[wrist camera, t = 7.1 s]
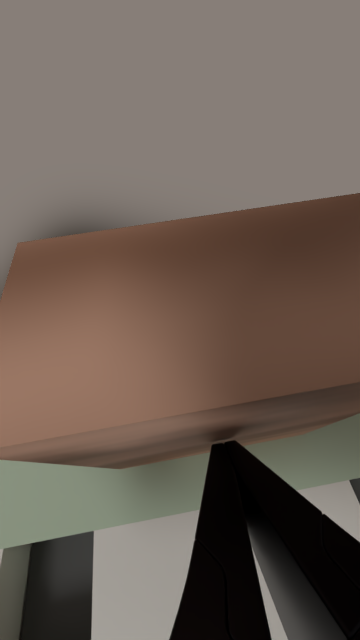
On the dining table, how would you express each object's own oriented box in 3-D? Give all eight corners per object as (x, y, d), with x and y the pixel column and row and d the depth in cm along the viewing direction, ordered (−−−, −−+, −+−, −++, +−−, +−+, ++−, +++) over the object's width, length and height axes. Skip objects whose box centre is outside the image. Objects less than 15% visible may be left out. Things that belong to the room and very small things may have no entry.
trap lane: (618, 820, 8) (767, 942, 6) (-59, 1009, 7) (-163, 1231, 5) (334, 333, 18) (352, 315, 16) (39, 384, 17) (18, 371, 15)
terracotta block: (303, 434, 13) (522, 351, 4) (120, 469, 12) (-47, 455, 4) (268, 348, 15) (359, 192, 7) (117, 374, 15) (17, 242, 6)
